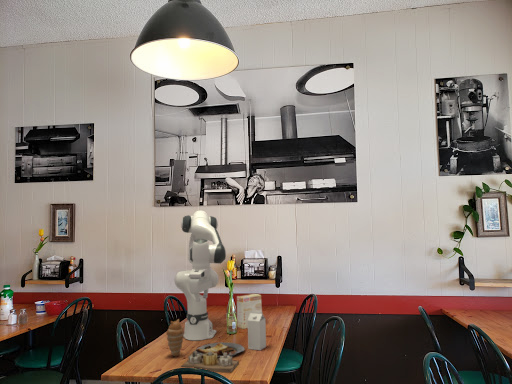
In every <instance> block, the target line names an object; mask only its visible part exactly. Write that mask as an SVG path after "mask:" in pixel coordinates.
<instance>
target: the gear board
mask: <svg viewBox="0 0 512 384" xmlns="http://www.w3.org/2000/svg"><path fill="white" fill-rule="evenodd" d="M211 355H212V352H208V356H211ZM187 357H188V358H187V359H188V360H187V361H185V362H184V363H183V364H182V365H180V368H181V367H194V368H202V369H207V370H211V371H210V372H212V371H215V372H214V373H227V374H228V373H229V374H231V373H232V372H233V371H234V370H235V369H236V368H237V367H238V366H239V364H240V361H239V360H233V356H227V353H223V356H220V357H218V358H217V364H214V365H209V366H206V365H203V356H202V355H200V354H197V351H196V350H193V352H192V354H190V355H188V356H187Z"/></svg>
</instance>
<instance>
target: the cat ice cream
mask: <svg viewBox="0 0 512 384" xmlns="http://www.w3.org/2000/svg"><path fill="white" fill-rule="evenodd" d="M183 334H184V329H183V327H182V324H181V322H180V318H178V319H176V320H174V321H172V320H170V325H169V326H168V329H167V331H166V335H167V337H166V338H167V345H168V348H169V351H170V352H171V356H173V357H178V356H179V355H180V353H181V349H182V344H183V341H184V337H183Z"/></svg>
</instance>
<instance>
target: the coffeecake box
mask: <svg viewBox="0 0 512 384" xmlns="http://www.w3.org/2000/svg"><path fill="white" fill-rule="evenodd" d="M262 303H263V302H262V295H261V294H258V293H252V294H244V295H237V296H236V311H237V312H236V315H237V318H236V320H237V321H236V322H237V324H236V325H237V328H240V329H241V330H244V329H248V318H249V315H250V311H255V312H262V313H263V307H262V306H263V305H262Z"/></svg>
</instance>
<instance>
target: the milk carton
mask: <svg viewBox="0 0 512 384" xmlns="http://www.w3.org/2000/svg"><path fill="white" fill-rule="evenodd" d="M266 323H267V322H266V317H265V315H264V314H263V311H262V312H255V311H250V315H249V318H248V328H247V343H248V344H247V346H248V350H255V351H261V350H264V349H265V348H266V347H267V335H266V334H267V333H266V332H267V329H266V328H267V327H266V326H267V325H266Z"/></svg>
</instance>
